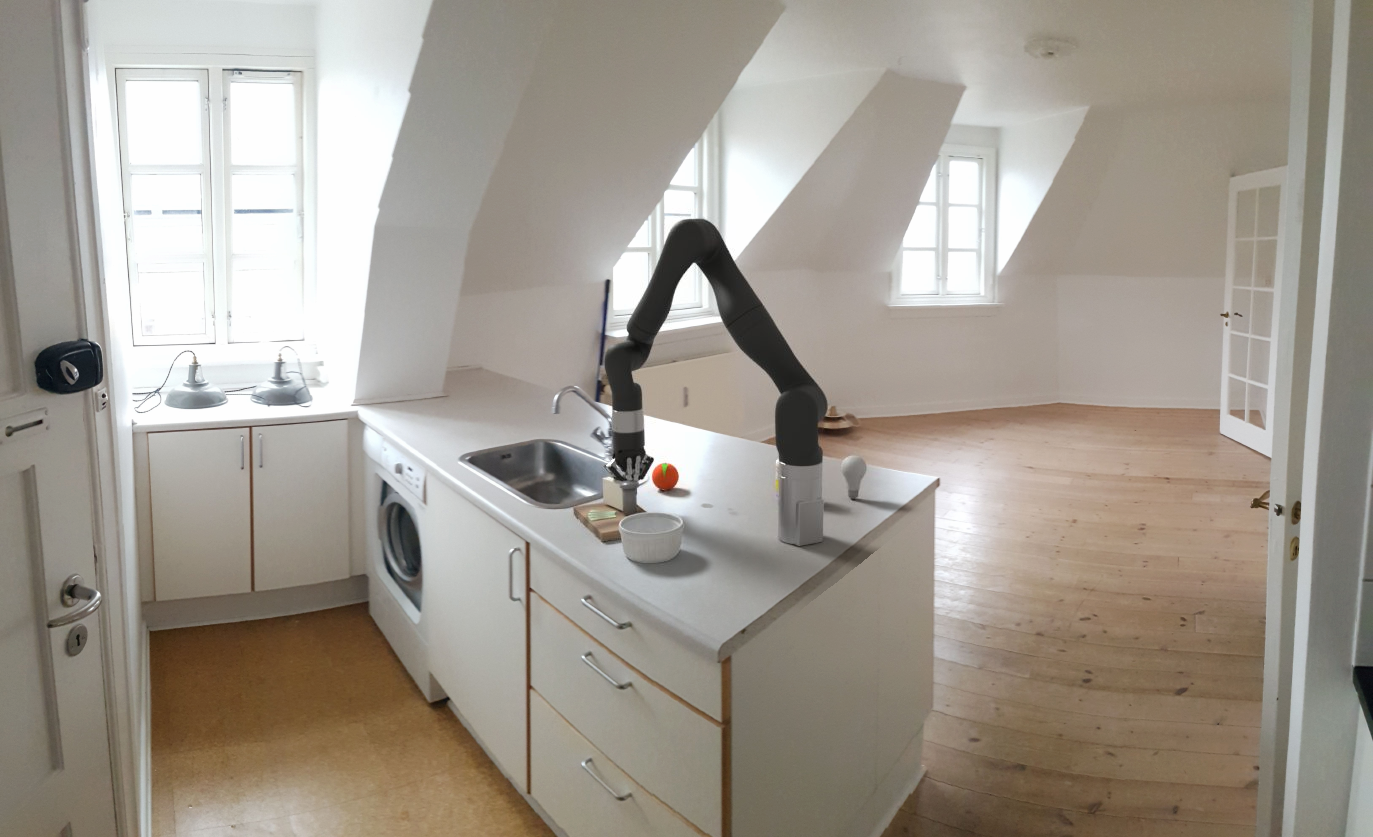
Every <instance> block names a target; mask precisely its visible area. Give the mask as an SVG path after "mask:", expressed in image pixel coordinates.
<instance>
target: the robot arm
mask: <svg viewBox="0 0 1373 837" xmlns="http://www.w3.org/2000/svg"><path fill="white" fill-rule="evenodd" d="M693 264H696V265H697V267H698V268H699V269H700V271H701V272H702V274H703V275H704V276H705V278H706V279H707V281H708V283H709V284H710V286H711V288H712V290H713V293H714V294H713V295H714V296H715V301H716V305H717V309H718V314H719V315H720V318H721V321H722V323H723V325H724V327H725V328H726V330H727V331H728V333H729V335H730V336H731V337H732V339H733V341H734V343H735V344H736V345H737V347H738V348H739V349H740V350H741V352H743V354H745V355H746V356H747V357H748V358H749V359H750V360H751V361H753V362H754V363H755V364H756V365H757V366H759V368H761V369H762V370H763V371H764V372H765V373H766V374H767V375H768V377H769V378H770V379H771V380H772V382H773V384H774V385H775V387H776V389H777V390H778V391H779V394H780V395H779V397H778V399H777V401H776V404H775V410H774V432H775V433H774V434H775V447H776V450H777V453H778V458H779V480H778V500H777V501H778V502H777V503H778V504H777V505H778V506H777V537H778V539H779V541H782V542H783V543H786V544H791V545H796V547H797V546H798V547H801V546H807V545H812V544H817V543H818V544H819V543H822V542H824V511H825V510H824V507H825V500H824V498H823V463H824V462H823V459H824V458H823V457H824V456H823V455H824V454H823V452H824V451H823V448H822V447H821V446H820V444H819V423H820V422H821V421H823V419H824V418H825V417H826V416H827V412H828V407H829V406H828V400H827V396H826V394H825V392H824V391H823V390H822V389H823V388H821V386H819V384H818V383H817V382H816V380H814V378H813V377H812V376H811V374H810V373H809V372H808V371H807V369H806V368H805V367H804V366H803V365H802V363H801V362H800V360H799V359H798V358H797V356H796V355H795V353H794V352H793V350H792V348H791V347H790V345H789V343H788V341H787V340H786V339H785V337H784V336H783V333H782V332H781V331H780V329H779V327H778V325H777V324H776V322H775V321H774V319H773V317H772V316H771V315H770V313H769V311H768V309H767V308H766V307H765V305H764V304H763V302H762V301H761V299H760V298H759V297H758V295H757V294H756V293H755V291H754V289H753V288H752V286H751V285H750V283H749V282H748V280H747V279H746V277H745V276H744V274H743V273H742V271H741V270H740V269H739V267H738V266H737V264H736V262H735V260H734V258H733V256H732V254H731V252H730V250H729V248H728V246H727V245H726V242H725V241H724V238H723V237H722V235H721V232H720V231H719V229H718V228H717V227H716V226H715V225H714V224H713V223H712V221H709V220H707V219H703V218H685V219H681V220H679V221H677V222H675V223H674V224H673V225H672V227H671V228H670V230H669V231H668V234H667V237H666V239H665V242H664V244H663V247H662V250H661V253H660V255H659V258H658V261H657V263H656V266H655V268H654V271H653V274H652V276H651V278H650V281H649V282H648V284H647V287H646V289H645V290H644V293H643V295H642V296H641V298H640V300H639V302H638V304H637V305H636V307H635V309H634V311H632V313H631V316H630V318H629V319H628V321H627V324H626V331H627V333H628V335H627V337H626V339H625V340H624V341H623V342H618V343H615V344H612V345H610V346H609V347H608V348H607V349H606V351H605V355H604V361H603V363H604V364H603V365H604V370H605V373H606V378H607V381H608V385H609V387H610V391H611V409H612V410H611V434H612V435H611V436H612V437H611V439H612V448H613V453H612V456H611V460H610V462H609V463H605V464H604V466H603V467H604V469H605V470H606V472H607V473H608V474H609V475H610V477H611V478H614V479H616V480H619V481H625V480H635V481H638V482H639V481H642V480H644V479H645V477H646V476H647V474H648V472H649V469H650V468H651V467H652V465H653V463H654V461H655V458H654V457H652V456H650V455H648V454H647V452H646V449H645V447H646V439H645V438H646V437H645V415H644V410H643V391H642V387H641V385H640V384H639V383H638V382H636V381H635V382H634V378H633V377H634V376H633V372H635V371H637V370H639V369H641V368H642V367H643V366H644V364H645V363H646V362H647V360H648V358H649V357H650V354H651V351H652V348H653V346H654V340H655V338H656V336H657V335H658V334H659V332H660V330H661V328H662V327H663V325H664V324H665V321H666V320H667V318H668V316H669V314H670V312H671V308H672V305H673V301H674V295H675V293H676V290H677V288H678V285H679V283H680V281H681V279H682V278H683V277H684V275H685V273H687V272H688V270H689V269H690V267H691V266H692V265H693ZM618 468H619V471H618ZM636 495H638V488H636Z"/></svg>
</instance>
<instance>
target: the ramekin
mask: <svg viewBox="0 0 1373 837" xmlns="http://www.w3.org/2000/svg"><path fill="white" fill-rule="evenodd" d="M683 530H684V521H683V519H682V518H681V517H680V516H677V515H676V514H672V513H669V512H662V511H661V512H660V511H646V513H638V514H634V515H630V516H628V517H625V518H624V519H622V520H621V521H620V523H619V532H620V533H621V539H620V541H621V546H622V550H623V552H624V555H625V556H626V557H627V558H628V559H629V560H631V561H633V560H634V561H633V562H636V561H637V562H636V563H641V564H657V563H658V562H659V563H663V562H664V561H665V562H668V561H670V560H672V559H674V558H675V557H677V555H678V554H679V552H680V549H681V546H682V545H681V544H682V538H683V536H682V535H683Z"/></svg>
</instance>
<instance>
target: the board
mask: <svg viewBox="0 0 1373 837" xmlns="http://www.w3.org/2000/svg"><path fill="white" fill-rule="evenodd" d="M646 512H647V510H645V509H643V508H642V507H641V506H640V505H638V504H637V513H636V514H638V513H646ZM574 515H575V516H576V517H577V518H578V519H579V520H580V521H579V520H578V521H579V522H580V523H581V524H583V526H584V527H586V528H587V529H588V530H589V531H590V532H591V533H592V532H593V533H594V534H595V535H596V536H597V537H598V538H599V539H600V540H601V541H602V542H601V541H600V540H599V539H598V538H597V537H596V536H595V535H594V534H593V533H592V534H593V535H594V536H595V537H596V538H597V539H598V540H599V541H600V542H601V543H604V541H605V542H609V541H608V540H611V541H616V539H617V540H621V533H620V532H619V523H620V521H621V520H622V519H624V518H625V517H628V516H630V515H625V514H623V511H622V510H620V509H617V508H615V507H613V506H610V505H608V504H606V503H604V501H603V502H602V501H601V502H595V503H589V504H584V505H577V506H573V516H574ZM575 516H574V517H575ZM576 517H575V518H576ZM577 518H576V519H577Z"/></svg>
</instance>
